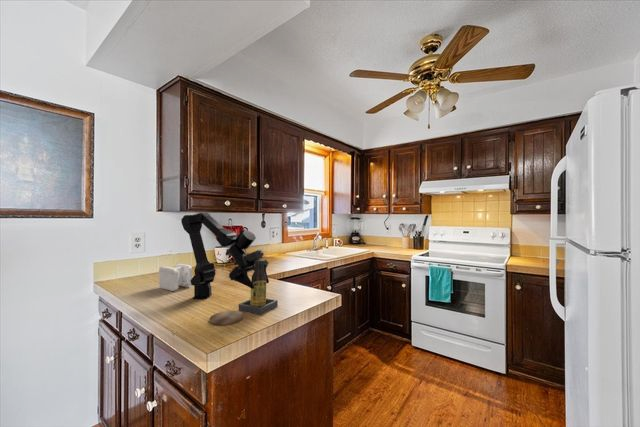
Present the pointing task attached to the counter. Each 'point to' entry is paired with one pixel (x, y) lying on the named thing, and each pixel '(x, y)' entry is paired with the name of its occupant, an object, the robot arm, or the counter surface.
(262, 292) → the sauce bottle
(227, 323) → the coaster
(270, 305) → the dark grey square tray
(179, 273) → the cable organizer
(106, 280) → the counter surface
